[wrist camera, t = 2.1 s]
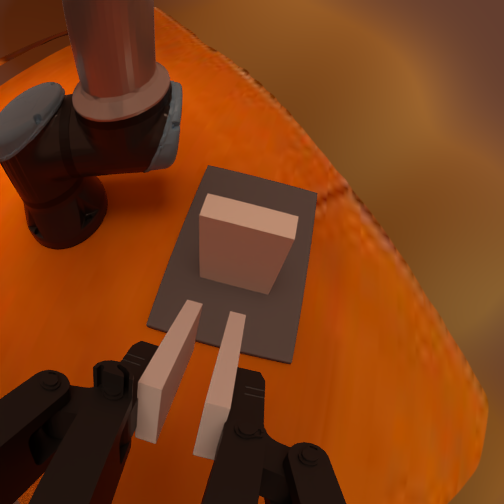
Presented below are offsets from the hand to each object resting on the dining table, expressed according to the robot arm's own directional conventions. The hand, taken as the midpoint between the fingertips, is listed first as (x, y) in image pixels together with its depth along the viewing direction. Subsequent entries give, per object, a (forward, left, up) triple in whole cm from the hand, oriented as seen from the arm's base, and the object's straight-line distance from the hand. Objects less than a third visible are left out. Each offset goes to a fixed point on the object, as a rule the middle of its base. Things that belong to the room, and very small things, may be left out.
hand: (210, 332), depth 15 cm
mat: (-18, +10, -28) cm, 35 cm away
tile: (-14, +8, -27) cm, 31 cm away
